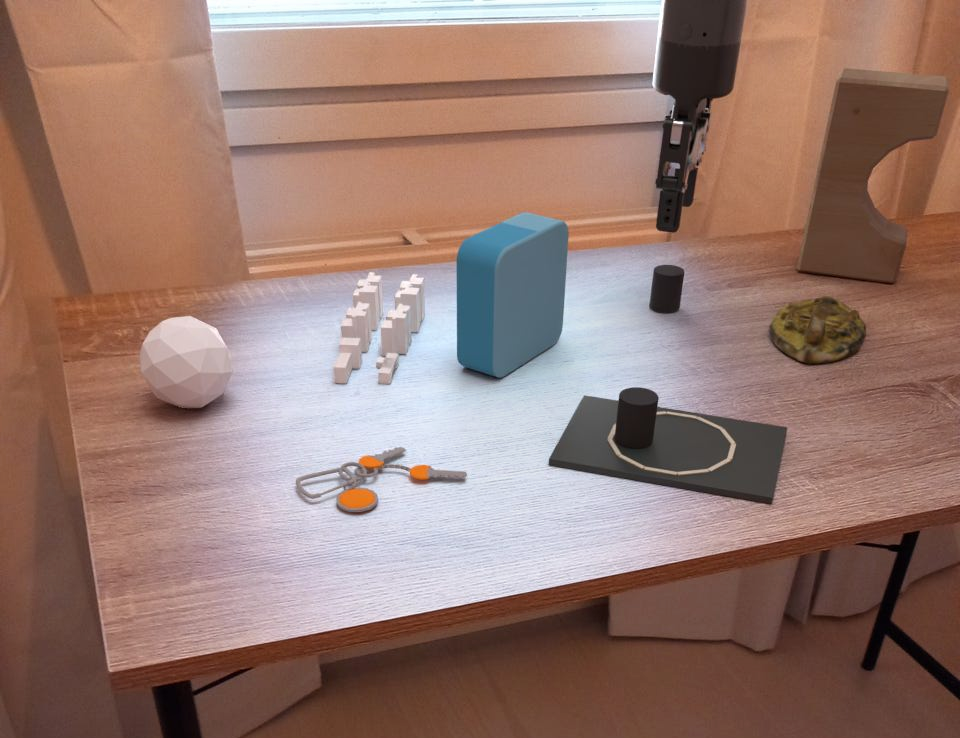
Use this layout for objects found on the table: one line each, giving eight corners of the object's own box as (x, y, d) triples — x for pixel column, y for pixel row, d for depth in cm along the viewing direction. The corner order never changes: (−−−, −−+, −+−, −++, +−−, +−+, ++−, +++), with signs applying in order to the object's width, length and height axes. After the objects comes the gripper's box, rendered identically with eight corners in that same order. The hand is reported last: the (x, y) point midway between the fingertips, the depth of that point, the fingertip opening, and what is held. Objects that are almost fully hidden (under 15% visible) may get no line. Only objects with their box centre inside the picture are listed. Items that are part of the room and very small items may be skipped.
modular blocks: (361, 309, 108) (359, 271, 105) (426, 311, 107) (425, 273, 105) (325, 394, 93) (321, 353, 90) (400, 397, 92) (398, 356, 90)
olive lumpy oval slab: (776, 311, 111) (761, 367, 100) (780, 268, 108) (765, 319, 97) (867, 313, 108) (862, 370, 97) (873, 269, 105) (869, 322, 94)
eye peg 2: (681, 303, 110) (687, 266, 107) (676, 315, 107) (681, 277, 105) (652, 299, 111) (656, 262, 108) (646, 310, 108) (651, 273, 106)
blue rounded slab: (525, 329, 104) (530, 207, 96) (562, 340, 102) (570, 216, 94) (455, 371, 97) (455, 242, 89) (495, 383, 95) (497, 253, 87)
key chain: (322, 523, 76) (321, 514, 76) (287, 478, 81) (286, 469, 81) (472, 481, 81) (472, 472, 80) (430, 441, 86) (430, 432, 85)
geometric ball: (193, 441, 91) (140, 397, 84) (161, 379, 94) (107, 331, 87) (262, 392, 91) (214, 344, 83) (227, 331, 94) (179, 280, 86)
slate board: (786, 433, 88) (787, 426, 88) (771, 504, 79) (773, 496, 79) (583, 401, 92) (584, 393, 92) (548, 465, 83) (548, 457, 83)
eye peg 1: (655, 433, 86) (661, 390, 84) (648, 451, 84) (654, 407, 82) (618, 427, 87) (623, 384, 85) (610, 445, 85) (615, 401, 82)
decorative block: (897, 268, 119) (950, 76, 106) (895, 285, 114) (949, 87, 102) (800, 255, 121) (840, 66, 109) (794, 272, 117) (835, 77, 104)
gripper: (731, 51, 86) (700, 245, 97) (750, 23, 97) (721, 201, 107) (643, 44, 88) (623, 235, 99) (672, 17, 99) (651, 193, 109)
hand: (674, 217), depth 103 cm, fingers open, 8 cm apart
